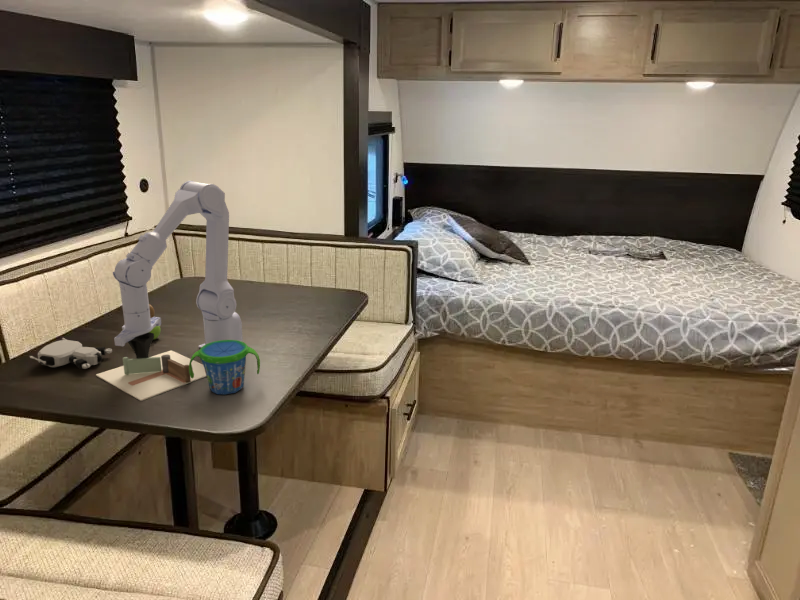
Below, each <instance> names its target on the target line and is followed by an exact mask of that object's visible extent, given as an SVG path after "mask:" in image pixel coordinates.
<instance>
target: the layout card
mask: <svg viewBox="0 0 800 600" xmlns="http://www.w3.org/2000/svg"><path fill="white" fill-rule="evenodd" d="M162 355H170V359H172V360H174V361H176V362H178V363H180V364H182V365H189V363H190V360H191V358H189V357H188V356H186V355H185V356H184V355H182V354H180V353H179V352H177V351H174V350H168V351H165V352H161V353H158V354H155V355H153V356H151V357H160V359H161V356H162ZM191 365H192V369H193V373H194V378H191V376H190V380H191V382H188V383H186V382H185V381H184V380H182V379H180V378H178V377H176V376H174V375H172V374H170V373H169V372H168V373H164V372H163V368H162V359H161V369H162V371H160V372H147V373H134V374H125V373H124V366H123V365H120V366H119V367H116V368H112V369H109V370H106V371H102V372H100V373H96V374H95V376H96V377H97V378H99V379H101V380H103V381H105V382H107V383H108V384H110V385H112V386H113V387H115V388H117V389H119V390H120V391H122V392H124V393H126V394H128V395H130V396H131V397H133V398H135V399H137V400H139V401H140V402H143V401H145V400H148V399H150V398H153V397H155V396H158V395H161V394H164V393H166V392H170V391H172V390H175V389H177V388H180V387H183V386H185V385H188V384H190V383H193V382H196V381H199V380H201V379H203V378H207V376H206V373H205V369H204V366H203V363H202V362H201V363H200V362H198V361H197V360H194V359H193V361H192V363H191Z"/></svg>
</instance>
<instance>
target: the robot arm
mask: <svg viewBox="0 0 800 600" xmlns="http://www.w3.org/2000/svg"><path fill="white" fill-rule="evenodd" d="M225 199H226V194H225V192H224V191H223V190H222V189H221V188H220V187H219V186H218V185H216V184H214V183H204V182H197V181H194V180H186V181H184V183H182V184H181V185H180V188H179V189H178V190H176V192H175V194H174V198H173V201H172V203H171V204H170V205H169V207H168V208H167V210H166V212H164V214H163V216H162V217H161V219H160V220H159V222H158V223H157V225H156V227H154V229H153V231H149V232H148V231H147V232H145V233H144V234H141V235H139V237H138V238H137V240H138V242H137V243H136V245H135V246H134V247H133V248H132V249H131V251H130V252H128V253H127V254H126V256H125V257H126V258H123V259H120V260H119V261H118V262H117V263H116V264H115V266H114V271H112V276H113V278H114V279H115V280H116V281H117V282H118V284H119V289H120V290H119V291H120V298H121V304H122V305H121V306H122V313H123V320H124V324H123V326H121V329H122V330H121V331H120V332H119V334H117V335H116V336H115V337H114V338H113V339H114V346H117V347H124V346H125V345H126V343H127V344H129V345H130V347H131V348H132V351H134V354H135V359H136V358H149V354H150V353H149V352H150V348H151V345H152V343H153V341H154V340H153V338H154V334H153V333H149V332H150V331H151V330H152V329H153V328H154V327H155V326H160V327H161V325H162V318H161V316H160V317H159V316H154V317H152V318H150V309H149V304H150V302H149V294H148V286H147V284H148V282H149V281H150V280H151V277H152V270H153V267H154V265H155V264H156V263H157V262H158V260H159V259H160V258H161V256H162V254H163V253H164V252H165V251H166V249H167V247H168V245H167V239H168V238H169V237H170V236H171V235H172V234H173V232H175V230H176V229H178V227H179V225H180V224H181V223H182V222H183V221H184V219H185V218H186V217H187V216H190V215H195V214H200V215H201V216H202V217H204V219H205V220H206V223H205V225H206V227H205V230H206V231H205V233H206V234H205V237H206V238H205V270H204V271H205V273H204V274H205V277H204V278H205V279H204V280H203V281H202V282H201V283H200V284H199V291H198V294H197V295H196V300H195V304H196V306H197V309H199V311H201V315H202V321H203V333H204V343H202V344H199V345H198V348H200V349H201V347H203V346H204V345H206V344H208V343H211V342H215V341H220V340H237V341H241V342H244V340H243V339H244V338H243V323H242V319H241V317H240V315H239V313H237V312H236V309H237V300H236V298H235V293H234V292H235V290H234V287H233V286H232V285H231V284H230V283H229V280H228V271H229V270H228V264H229V235H230V234H229V229H230V228H229V227H230V211H229V209H228V206H227V203H226V200H225Z"/></svg>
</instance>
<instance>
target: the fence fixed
mask: <svg viewBox="0 0 800 600" xmlns="http://www.w3.org/2000/svg"><path fill="white" fill-rule="evenodd" d="M161 359H162V368H163V372H164V373H168V372H169V373H170V374H172V375H174V376H176V377H178V378H180V379H182V380H184V381H185V382H186V383H188V382H191V380H190V373H189V365H182V364H180V363H178V362H176V361H174V360H172V359H170V355H162V356H161ZM191 383H192V382H191ZM188 384H189V383H188Z"/></svg>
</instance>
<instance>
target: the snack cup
mask: <svg viewBox="0 0 800 600" xmlns="http://www.w3.org/2000/svg"><path fill="white" fill-rule="evenodd" d="M248 354H251V355H254V357H255V358H256V365H257V367H256V368H257V370H256V373H257V375H259V373H260V369H261V360H260V356H259V354H258V352H256V350H255V349H254V348H252V347H250V346H248V344H247V343H245V342H244V341H243V342H241V341H237V340H220V341H215V342H211V343H208V344H206V345H204V346H203V347H201V348H200V349H198V350H197V351H195V352H194V353H193V354H192V356H191V358H190V359H191V360H190V363H189V373H190V376H191V378H194V373H193V369H192V365H191V363H192V361H193V360H194V359H195V358H196V357H199V358H200V362H201V364H203V366H204V369H205V373H206V376H207V377H206V381H207V384H208V387H209V389H210V391H211V392H212V393H214V394H216V395H219V396H220V395H221V396H222V395H224V396H225V395H230V394H235V393H237V392H239V391H240V390H241V389H242V388H243V387H244V383H245V373H246V372H245V371H246V363H247V355H248Z"/></svg>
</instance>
